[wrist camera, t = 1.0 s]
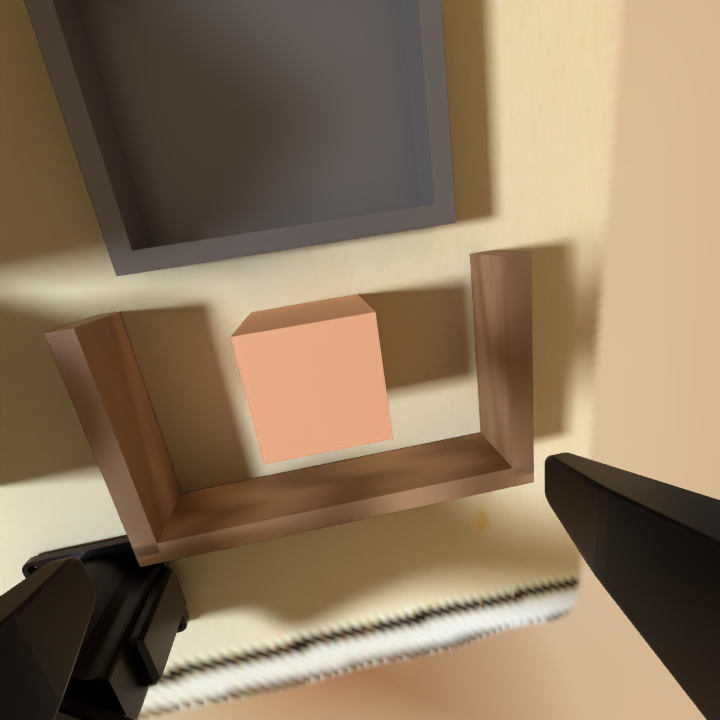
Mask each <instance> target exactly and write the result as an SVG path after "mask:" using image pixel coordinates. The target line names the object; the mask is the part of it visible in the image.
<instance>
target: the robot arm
mask: <svg viewBox="0 0 720 720" xmlns="http://www.w3.org/2000/svg"><path fill="white" fill-rule="evenodd" d="M545 495H546V498H547V501H548V503H549V504H550V506H551V508H552V509H553V511H554V512H555V514H556V516H557V517H558V519H559V520H560V522H561V523H562V525H563V527H564V528H565V530H566V531H567V533H568V534H569V536H570V538H571V539H572V541H573V542H574V544H575V545H576V547H577V549H578V550H579V552H580V553H581V555H582V556H583V558H584V560H585V561H586V563H587V564H588V565H589V567H590V569H591V570H592V571H593V573H594V574H595V576H596V577H597V578H598V580H599V581H600V582H601V584H602V585H603V587H604V588H605V589H606V590H607V592H608V593H609V594H610V596H611V597H612V598H613V599H614V601H615V602H616V603H617V605H618V606H619V607H620V609H621V610H622V611H623V612H624V614H625V615H626V616H627V618H628V619H629V620H630V621H631V623H632V624H633V625H634V627H635V628H636V629H637V630H638V632H639V633H640V634H641V636H642V637H643V638H644V639H645V641H646V642H647V643H648V645H649V646H650V647H651V649H652V650H653V651H654V652H655V654H656V655H657V656H658V658H659V659H660V660H661V661H662V663H663V664H664V665H665V667H666V668H667V669H668V670H669V672H670V673H671V674H672V676H673V677H674V678H675V680H676V681H677V682H678V683H679V685H680V686H681V687H682V689H683V690H684V691H685V692H686V694H687V695H688V696H689V698H690V699H691V700H692V701H693V703H694V704H695V705H696V706H697V708H698V709H699V710H700V712H701V713H702V714H703V716H704V717H705V718H706V719H707V720H720V500H718V499H714V498H711V497H708V496H705V495H702V494H698V493H695V492H692V491H689V490H686V489H682V488H679V487H676V486H673V485H670V484H666V483H663V482H660V481H657V480H653V479H651V478H647V477H644V476H641V475H638V474H635V473H631V472H628V471H625V470H622V469H619V468H615V467H612V466H609V465H606V464H602V463H599V462H596V461H593V460H590V459H587V458H583V457H580V456H577V455H574V454H571V453H560V454H556V455H551V456H548V457H547V458H546V460H545ZM34 566H35V567H34ZM36 567H37V568H36ZM22 572H23V574H24V576H25V578H26V579H25V580H23V581H22V582H20V583H19V584H17V585H16V586H14V587H13V588H12V589H10V590H9V591H7V592H6V593H4V594H3V595H1V596H0V720H137V719H138V717H139V714H140V711H141V708H142V705H143V703H144V700H145V697H146V694H147V691H148V689H149V686H153V685H156V684H157V683H158V682H159V680H160V679H161V677H162V674H163V671H164V668H165V665H166V663H167V660H168V657H169V654H170V651H171V648H172V645H173V642H174V639H175V636H176V633H178V632H182V631H184V630H185V629H186V627H187V624H188V621H189V616H188V614H187V611H186V608H185V606H186V602H185V599H184V596H183V594H182V591H181V588H180V586H179V583H178V581H177V578H176V575H175V573H174V570H173V569H172V568H171V567H170V566H169V564H168V561H166V562H161V563H157V564H152V565H147V566H143V567H140V565H139V563H138V561H137V558H136V556H135V553H134V551H133V548H132V546H131V543H130V541H129V539H128V537H125V538H120V539H115V540H110V541H106V542H101V543H96V544H91V545H87V546H82V547H77V548H72V549H67V550H63V551H58V552H53V553H48V554H44V555H39V556H34V557H32V558H30V559H29V560H28V561H27V562H26V564H25V565H24V566H23V568H22Z"/></svg>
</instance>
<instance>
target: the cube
mask: <svg viewBox="0 0 720 720" xmlns="http://www.w3.org/2000/svg"><path fill="white" fill-rule="evenodd" d="M231 340H232V344H233V348H234V352H235V356H236V359H237V363H238V367H239V371H240V375H241V379H242V383H243V387H244V390H245V394H246V398H247V402H248V406H249V410H250V414H251V417H252V421H253V425H254V429H255V433H256V437H257V441H258V444H259V448H260V452H261V456H262V460H263V464H268V463H273V462H278V461H283V460H288V459H293V458H298V457H303V456H308V455H313V454H318V453H323V452H329V451H334V450H339V449H344V448H349V447H354V446H359V445H364V444H369V443H374V442H379V441H384V440H389V439H393V435H392V428H391V421H390V413H389V406H388V399H387V392H386V385H385V377H384V370H383V363H382V356H381V348H380V341H379V334H378V327H377V320H376V312H375V311H374V310H373V309H372V308H371V307H370V306H369V305H368V304H367V303H366V302H365V301H364V300H363V299H362V298H361V297H360V296H359V295H352V296H346V297H340V298H334V299H328V300H322V301H316V302H310V303H304V304H298V305H293V306H287V307H281V308H275V309H269V310H263V311H257V312H251V313H250V314H249V316H248V317H247V318H246V319H245V320H244V322H243V323H242V324H241V325H240V326H239V328H238V329H237V330H236V331H235V332H234V334H233V335H232V336H231Z"/></svg>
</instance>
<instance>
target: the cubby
mask: <svg viewBox="0 0 720 720" xmlns="http://www.w3.org/2000/svg"><path fill="white" fill-rule="evenodd" d="M470 262H471V279H472V296H473V312H474V329H475V346H476V363H477V379H478V396H479V413H480V429H481V433H477V434H472V435H467V436H462V437H457V438H452V439H447V440H442V441H437V442H432V443H428V444H423V445H418V446H413V447H408V448H403V449H398V450H393V451H388V452H383V453H378V454H373V455H368V456H363V457H358V458H354V459H349V460H344V461H339V462H334V463H329V464H324V465H319V466H314V467H309V468H304V469H299V470H294V471H289V472H285V473H280V474H275V475H270V476H265V477H260V478H255V479H250V480H245V481H240V482H235V483H230V484H225V485H220V486H216V487H211V488H206V489H201V490H196V491H191V492H186V493H182V492H181V489H180V486H179V483H178V481H177V478H176V475H175V472H174V469H173V466H172V463H171V460H170V457H169V454H168V451H167V448H166V446H165V443H164V440H163V437H162V434H161V431H160V428H159V425H158V422H157V419H156V416H155V414H154V411H153V408H152V405H151V402H150V399H149V396H148V393H147V390H146V387H145V384H144V381H143V379H142V376H141V373H140V370H139V367H138V364H137V361H136V358H135V355H134V352H133V349H132V346H131V344H130V341H129V338H128V335H127V332H126V329H125V326H124V323H123V320H122V317H121V314H120V312H115V313H108V314H102V315H96V316H93V317H90V318H87V319H84V320H82V321H79V322H76V323H73V324H70V325H67V326H64V327H61V328H58V329H55V330H53V331H50V332H47V333H44V334H45V336H46V339H47V341H48V344H49V346H50V349H51V351H52V353H53V356H54V358H55V361H56V363H57V366H58V368H59V370H60V373H61V375H62V378H63V380H64V383H65V385H66V388H67V390H68V392H69V395H70V397H71V400H72V402H73V405H74V407H75V409H76V412H77V414H78V417H79V419H80V422H81V424H82V427H83V429H84V431H85V434H86V436H87V439H88V441H89V444H90V446H91V448H92V451H93V453H94V456H95V458H96V461H97V463H98V466H99V468H100V470H101V473H102V475H103V478H104V480H105V483H106V485H107V487H108V490H109V492H110V495H111V497H112V500H113V502H114V505H115V507H116V509H117V512H118V514H119V517H120V519H121V522H122V524H123V526H124V529H125V531H126V534H127V536H128V539H129V541H130V543H131V546H132V548H133V551H134V553H135V556H136V558H137V561H138V563H139V565H140V567H143V566H147V565H152V564H157V563H161V562H166V561H171V560H175V559H180V558H184V557H189V556H194V555H198V554H203V553H208V552H212V551H217V550H222V549H226V548H231V547H235V546H240V545H245V544H249V543H254V542H259V541H263V540H268V539H272V538H277V537H282V536H286V535H291V534H296V533H300V532H305V531H310V530H314V529H319V528H323V527H328V526H333V525H337V524H342V523H347V522H351V521H356V520H361V519H365V518H370V517H374V516H379V515H384V514H388V513H393V512H398V511H402V510H407V509H412V508H416V507H421V506H425V505H430V504H435V503H439V502H444V501H449V500H453V499H458V498H463V497H467V496H472V495H476V494H481V493H486V492H490V491H495V490H500V489H504V488H509V487H514V486H518V485H523V484H527V483H532V482H534V455H533V380H532V306H531V252H510V251H485V252H479V253H473V254H470Z"/></svg>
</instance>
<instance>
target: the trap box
mask: <svg viewBox="0 0 720 720" xmlns="http://www.w3.org/2000/svg"><path fill="white" fill-rule="evenodd" d="M24 2H25V5H26V8H27V11H28V14H29V17H30V20H31V23H32V26H33V29H34V32H35V35H36V38H37V41H38V44H39V47H40V50H41V53H42V55H43V58H44V61H45V64H46V67H47V70H48V73H49V76H50V79H51V82H52V85H53V88H54V91H55V94H56V97H57V100H58V103H59V106H60V109H61V112H62V115H63V118H64V121H65V124H66V127H67V130H68V133H69V136H70V139H71V142H72V145H73V148H74V151H75V154H76V157H77V160H78V163H79V166H80V169H81V172H82V175H83V178H84V181H85V184H86V186H87V189H88V192H89V195H90V198H91V201H92V204H93V207H94V210H95V213H96V216H97V219H98V222H99V225H100V228H101V231H102V234H103V237H104V240H105V243H106V246H107V249H108V252H109V255H110V258H111V261H112V264H113V267H114V270H115V273H116V276H122V275H128V274H134V273H141V272H147V271H153V270H160V269H166V268H172V267H179V266H185V265H192V264H198V263H204V262H211V261H217V260H223V259H230V258H236V257H242V256H249V255H255V254H261V253H268V252H274V251H280V250H287V249H293V248H299V247H306V246H312V245H318V244H325V243H331V242H338V241H344V240H350V239H357V238H363V237H369V236H376V235H382V234H388V233H395V232H401V231H407V230H414V229H420V228H426V227H433V226H439V225H445V224H452V223H456V210H455V195H454V181H453V166H452V152H451V137H450V122H449V108H448V93H447V79H446V64H445V50H444V35H443V21H442V6H441V0H24Z"/></svg>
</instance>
